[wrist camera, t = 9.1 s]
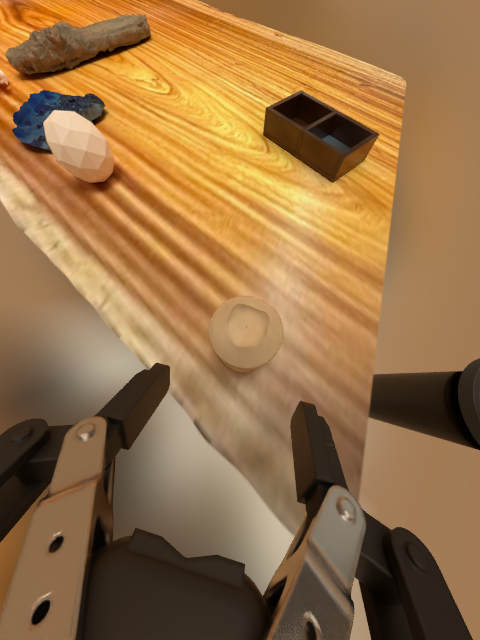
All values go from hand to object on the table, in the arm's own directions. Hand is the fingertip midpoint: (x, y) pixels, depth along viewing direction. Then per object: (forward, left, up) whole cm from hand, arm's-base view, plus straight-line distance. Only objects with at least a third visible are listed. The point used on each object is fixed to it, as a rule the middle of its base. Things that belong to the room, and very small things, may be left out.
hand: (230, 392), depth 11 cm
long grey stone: (+82, -24, -10) cm, 86 cm away
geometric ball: (+41, -5, -10) cm, 42 cm away
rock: (+60, -6, -10) cm, 61 cm away
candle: (+3, -4, -10) cm, 11 cm away
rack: (+23, -39, -10) cm, 46 cm away
